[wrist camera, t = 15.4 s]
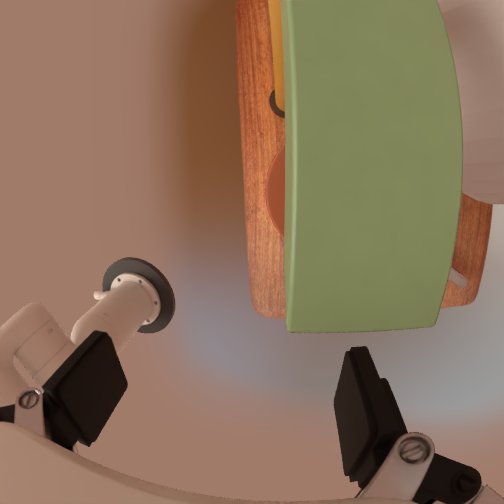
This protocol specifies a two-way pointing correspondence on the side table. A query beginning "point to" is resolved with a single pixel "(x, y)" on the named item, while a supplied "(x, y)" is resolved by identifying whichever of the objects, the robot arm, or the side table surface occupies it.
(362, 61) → the green bar
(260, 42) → the side table surface
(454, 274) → the grey flat slab
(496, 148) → the table lamp
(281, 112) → the ochre rod
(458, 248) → the side table surface
